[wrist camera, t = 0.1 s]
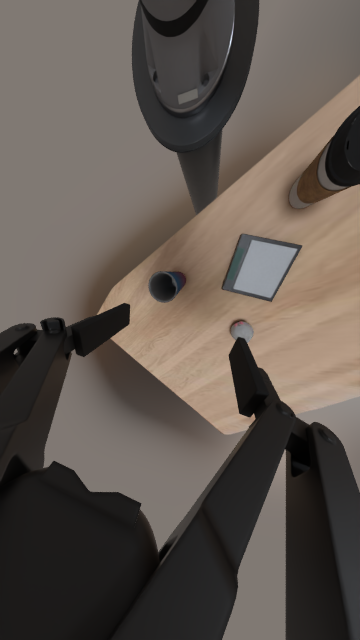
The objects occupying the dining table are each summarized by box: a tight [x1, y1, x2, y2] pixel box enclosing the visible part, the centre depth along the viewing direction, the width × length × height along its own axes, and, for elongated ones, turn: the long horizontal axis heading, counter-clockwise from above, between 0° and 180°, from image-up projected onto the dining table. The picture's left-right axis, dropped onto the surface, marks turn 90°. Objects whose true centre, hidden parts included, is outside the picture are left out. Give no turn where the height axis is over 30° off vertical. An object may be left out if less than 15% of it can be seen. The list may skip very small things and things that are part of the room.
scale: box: [222, 234, 302, 302], centre depth 34 cm, size 14×14×3 cm
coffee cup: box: [289, 106, 360, 209], centre depth 21 cm, size 8×8×15 cm
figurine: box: [231, 322, 254, 343], centre depth 40 cm, size 6×7×8 cm
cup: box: [149, 271, 186, 303], centre depth 35 cm, size 7×7×15 cm
